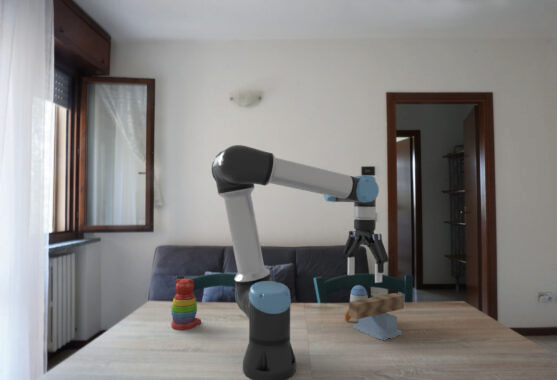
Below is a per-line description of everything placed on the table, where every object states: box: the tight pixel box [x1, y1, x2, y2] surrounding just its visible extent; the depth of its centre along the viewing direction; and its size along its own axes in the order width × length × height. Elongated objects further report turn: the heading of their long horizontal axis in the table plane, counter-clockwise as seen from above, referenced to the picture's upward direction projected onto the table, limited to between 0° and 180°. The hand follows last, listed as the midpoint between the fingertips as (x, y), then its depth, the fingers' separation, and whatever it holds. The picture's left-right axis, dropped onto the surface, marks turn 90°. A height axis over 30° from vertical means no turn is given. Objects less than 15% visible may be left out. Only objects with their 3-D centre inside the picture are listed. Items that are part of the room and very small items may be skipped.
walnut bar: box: [348, 292, 405, 320], centre depth 131 cm, size 24×4×5 cm, turn 122°
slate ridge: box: [352, 312, 403, 341], centre depth 131 cm, size 10×14×7 cm
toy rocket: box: [344, 284, 369, 322], centre depth 142 cm, size 10×11×15 cm
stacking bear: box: [170, 278, 202, 331], centre depth 136 cm, size 11×10×18 cm
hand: (364, 278), depth 128 cm, fingers open, 13 cm apart
